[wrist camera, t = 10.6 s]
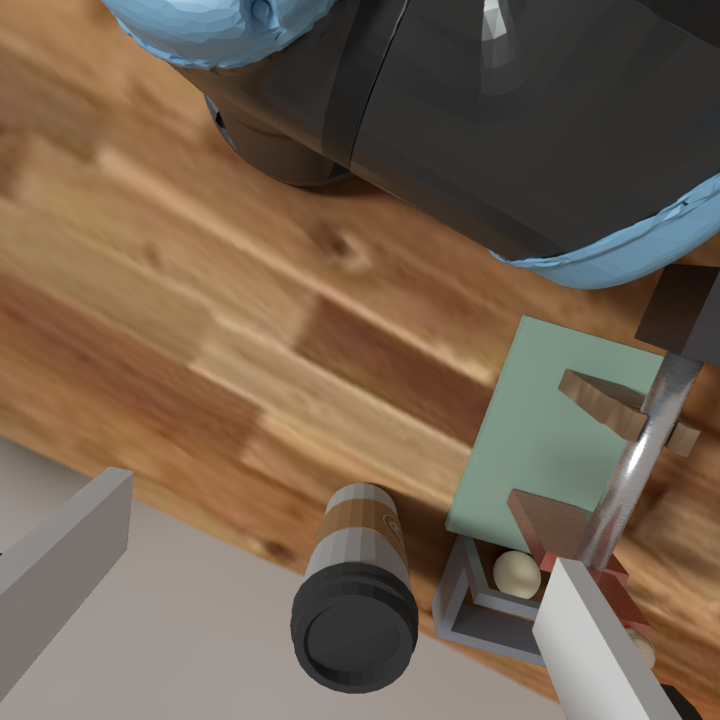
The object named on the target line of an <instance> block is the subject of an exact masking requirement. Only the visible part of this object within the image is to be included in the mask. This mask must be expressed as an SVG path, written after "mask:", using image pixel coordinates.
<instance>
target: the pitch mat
mask: <svg viewBox="0 0 720 720" xmlns="http://www.w3.org/2000/svg"><path fill="white" fill-rule="evenodd" d="M664 357H665V356H662V355H659V354H655V353H652V352H648V351H645V350H642V349H638V348H635V347H632V346H628V345H625V344H621V343H618V342H615V341H611V340H608V339H604V338H601V337H598V336H594V335H591V334H588V333H584V332H581V331H577V330H574V329H571V328H567V327H564V326H560V325H557V324H554V323H550V322H547V321H544V320H540V319H537V318H533V317H530V316H527V315H523V316H522V319H521V321H520V324H519V327H518V329H517V332H516V335H515V337H514V340H513V343H512V345H511V348H510V351H509V353H508V356H507V359H506V361H505V364H504V367H503V369H502V372H501V375H500V377H499V380H498V383H497V385H496V388H495V391H494V393H493V396H492V399H491V401H490V404H489V407H488V409H487V412H486V415H485V417H484V420H483V423H482V425H481V428H480V431H479V433H478V436H477V439H476V441H475V444H474V447H473V449H472V452H471V455H470V457H469V460H468V463H467V465H466V468H465V471H464V473H463V476H462V479H461V481H460V484H459V487H458V489H457V492H456V495H455V497H454V500H453V503H452V505H451V508H450V511H449V513H448V516H447V519H446V521H445V528H446V530H447V531H451V532H455V533H458V534H462V535H465V536H469V537H472V538H476V539H480V540H483V541H487V542H490V543H494V544H497V545H501V546H504V547H508V548H512V549H515V550H519V551H522V552H526V553H529V554H531V552H530V550H529V548H528V546H527V544H526V542H525V540H524V538H523V536H522V534H521V532H520V530H519V528H518V525H517V523H516V521H515V519H514V517H513V515H512V513H511V511H510V509H509V507H508V505H507V503H506V502H507V500H508V497H509V495H510V493H511V490H512V489H515V490H518V491H522V492H525V493H529V494H532V495H536V496H539V497H543V498H546V499H550V500H554V501H557V502H561V503H564V504H568V505H571V506H575V507H578V508H579V509H580V511H581V512H582V513H583V515H584V516H585V517H586V519H587V520H588V521H589V520H590V518H591V516H592V514H593V511H594V509H595V507H596V505H597V503H598V501H599V498H600V496H601V494H602V492H603V490H604V488H605V485H606V483H607V481H608V479H609V477H610V474H611V472H612V470H613V468H614V466H615V464H616V461H617V459H618V457H619V455H620V453H621V451H622V448H623V446H624V444H625V442H626V440H625V439H623V438H621V437H620V436H619V435H618V434H616V433H615V432H614V431H613V430H611V429H610V428H609V427H608V426H606V425H605V424H601V423H599V422H598V421H596V420H595V419H594V418H593V417H592V416H590V415H589V414H588V413H587V412H585V411H584V410H583V409H582V408H581V407H579V406H578V405H577V404H576V403H574V402H573V401H572V400H571V399H569V398H568V397H567V396H566V395H565V394H563V393H562V392H561V391H560V390H558V386H559V384H560V381H561V379H562V376H563V374H564V372H565V369H570V370H573V371H577V372H580V373H583V374H587V375H590V376H594V377H597V378H600V379H604V380H607V381H611V382H614V383H618V384H621V385H624V386H626V387H628V388H629V389H631V390H633V391H635V392H636V393H638V394H640V395H642V396H643V397H645V398H646V396H647V394H648V392H649V390H650V387H651V385H652V383H653V381H654V379H655V376H656V374H657V372H658V370H659V368H660V366H661V363H662V361H663V359H664Z"/></svg>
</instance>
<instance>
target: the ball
mask: <svg viewBox="0 0 720 720" xmlns="http://www.w3.org/2000/svg"><path fill="white" fill-rule="evenodd" d="M493 576H494V580H495V583H496V585H497V587H498V589H499V590H500V591H501V592H503V593H506V594H510V595H514V596H517V597H521V598H524V599H529V598H531V597H532V596H533V595H535V593H536V592H537V591H538V589H539V587H540V583H541V575H540V570H539V568H538V566H537V564H536V563H535V561H534V560H533V559H532V558H531V557H530V556H528V555H527V554H525V553H523V552H520V551H508V552H505V553H503V554H502V555H501V556H500V557H499V558H498V559H497V560H496V562H495V564H494V569H493Z"/></svg>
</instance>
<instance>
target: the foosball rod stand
mask: <svg viewBox="0 0 720 720" xmlns="http://www.w3.org/2000/svg"><path fill="white" fill-rule="evenodd" d="M634 338H635V339H638V340H641V341H643V342H646V343H649V344H651V345H654V346H657V347H660V348H662V349H665V350H667V353H666V355H665V357H664V359H663V361H662V363H661V366H660V368H659V370H658V372H657V374H656V376H655V379H654V381H653V383H652V385H651V387H650V390H649V392H648V394H647V396H646V398H645V400H644V403H643V405H642V407H641V409H640V411H641V412H642V413H644V414H645V415H647V416H648V417H647V419H646V421H645V423H644V425H643V427H642V429H641V432H640V434H639V436H638V438H637V440H636V442H632V441H628V440H626V442H625V444H624V446H623V448H622V451H621V453H620V455H619V457H618V459H617V461H616V464H615V466H614V468H613V470H612V472H611V474H610V477H609V479H608V481H607V483H606V485H605V488H604V490H603V492H602V494H601V496H600V498H599V501H598V503H597V505H596V507H595V509H594V511H593V514H592V516H591V518H590V520H589V521H588V520H587V519H586V517H585V516H584V515H583V513H582V512H581V511H580V509H579V508H578V507H575V506H571V505H568V504H564V503H561V502H557V501H554V500H550V499H546V498H543V497H539V496H536V495H532V494H529V493H525V492H522V491H518V490H515V489H512V490H511V493H510V495H509V497H508V500H507V502H506V503H507V505H508V507H509V509H510V511H511V513H512V515H513V517H514V519H515V521H516V523H517V525H518V528H519V530H520V532H521V534H522V536H523V538H524V540H525V542H526V544H527V546H528V548H529V550H530V552H531V554H532V556H533V558H534V560H535V562H536V564H537V566H538V568H539V569H540V570H544V571H547V572H551V573H552V571H553V568H554V565H555V562H556V559H557V557H561V558H566V559H571V560H576V561H581V562H582V563H583V564H584V566H585V567H586V569H587V570H588V572H589V574H590V575H591V577H592V578H593V580H594V582H595V583H596V585H597V586H598V588H599V589H600V591H601V593H602V594H603V596H604V597H605V599H606V600H607V602H608V604H609V605H610V607H611V608H612V610H613V611H614V613H615V615H616V616H617V618H618V619H619V621H620V622H621V624H622V626H623V627H624V629H625V630H626V632H627V633H628V635H629V637H630V638H631V640H632V641H633V643H634V644H635V646H636V648H637V649H638V651H639V652H640V654H641V655H642V657H643V659H644V660H645V662H646V663H647V665H648V666H649V668H650V670H651V669H652V668H653V666H654V664H655V661H656V653H655V649H654V646H653V644H652V643H651V641H650V640H649V639H648V637H647V634H648V632H649V630H650V628H651V626H650V624H649V623H648V621H647V620H646V619H645V617H644V616H643V614H642V613H641V612H640V610H639V609H638V607H637V606H636V604H635V603H634V602H633V600H632V599H631V597H630V596H629V595H628V593H627V592H626V590H625V589H624V588H623V587H624V585H625V583H626V581H627V579H628V577H629V574H628V573H627V572H626V570H625V569H624V568H623V566H622V565H621V564H620V562H619V561H618V560H617V558H616V557H615V556H614V554H613V551H614V549H615V547H616V545H617V543H618V541H619V539H620V537H621V534H622V532H623V530H624V528H625V526H626V524H627V522H628V520H629V518H630V516H631V514H632V512H633V510H634V508H635V505H636V503H637V501H638V499H639V497H640V495H641V493H642V491H643V489H644V487H645V485H646V483H647V481H648V478H649V476H650V474H651V472H652V470H653V468H654V466H655V464H656V462H657V460H658V458H659V456H660V454H661V452H662V449H663V447H664V445H665V443H666V441H667V439H668V437H669V435H670V433H671V431H672V429H673V427H674V425H675V422H676V420H677V418H678V416H679V414H680V412H681V410H682V408H683V406H684V404H685V402H686V400H687V398H688V396H689V393H690V391H691V389H692V387H693V385H694V383H695V381H696V379H697V377H698V375H699V373H700V371H701V369H702V366H703V364H704V362H705V363H708V364H712V365H715V366H718V367H720V267H709V266H695V265H680V264H669V265H667V266H665V268H664V271H663V273H662V275H661V277H660V280H659V282H658V284H657V286H656V289H655V291H654V293H653V296H652V298H651V300H650V302H649V305H648V307H647V309H646V312H645V314H644V316H643V318H642V321H641V323H640V325H639V328H638V330H637V332H636V334H635V337H634Z"/></svg>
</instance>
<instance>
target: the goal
mask: <svg viewBox="0 0 720 720" xmlns="http://www.w3.org/2000/svg"><path fill="white" fill-rule="evenodd" d="M469 586H470V590H471V594H472V598H473V601H474V604H478V605H481V606H485V607H489V608H492V609H496V610H499V611H503V612H507V613H510V614H514V615H517V616H521V617H525V618H528V619H532V620H536V617H537V614H538V611H539V608H540V605H541V603H539V602H535V601H532V600H528V599H524V598H521V597H517V596H514V595H510V594H506V593H503V592H499V591H496V590H492V589H489V587H488V584H487V581H486V578H485V575H484V571H483V568H482V565H481V562H480V559H479V556H478V553H477V549H476V546H475V543H474V540H473V538H472V537H469V536H465V535H462V534H458V535H457V538H456V540H455V543H454V546H453V548H452V551H451V553H450V556H449V559H448V561H447V564H446V566H445V569H444V572H443V574H442V577H441V579H440V582H439V585H438V587H437V590H436V592H435V595H434V598H433V600H432V603H431V606H432V613H433V620H434V627H435V634H436V637H438V638H441V639H445V640H449V641H452V642H456V643H459V644H463V645H467V646H470V647H474V648H478V649H481V650H485V651H489V652H492V653H496V654H500V655H503V656H507V657H511V658H514V659H518V660H521V661H525V662H529V663H532V664H536V665H540V666H543V667H546V665H545V663H544V660H543V658H542V655H541V652H540V650H539V647H538V645H537V642H536V640H535V637H534V635H533V632H532V629H533V626H534V622H530V621H526V620H523V619H519V618H516V617H512V616H508V615H505V614H501V613H498V612H494V611H490V610H487V609H483V608H479V607H476V606H472V605H469V604H465V603H462V601H463V599H464V596H465V594H466V592H467V589H468V587H469Z"/></svg>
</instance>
